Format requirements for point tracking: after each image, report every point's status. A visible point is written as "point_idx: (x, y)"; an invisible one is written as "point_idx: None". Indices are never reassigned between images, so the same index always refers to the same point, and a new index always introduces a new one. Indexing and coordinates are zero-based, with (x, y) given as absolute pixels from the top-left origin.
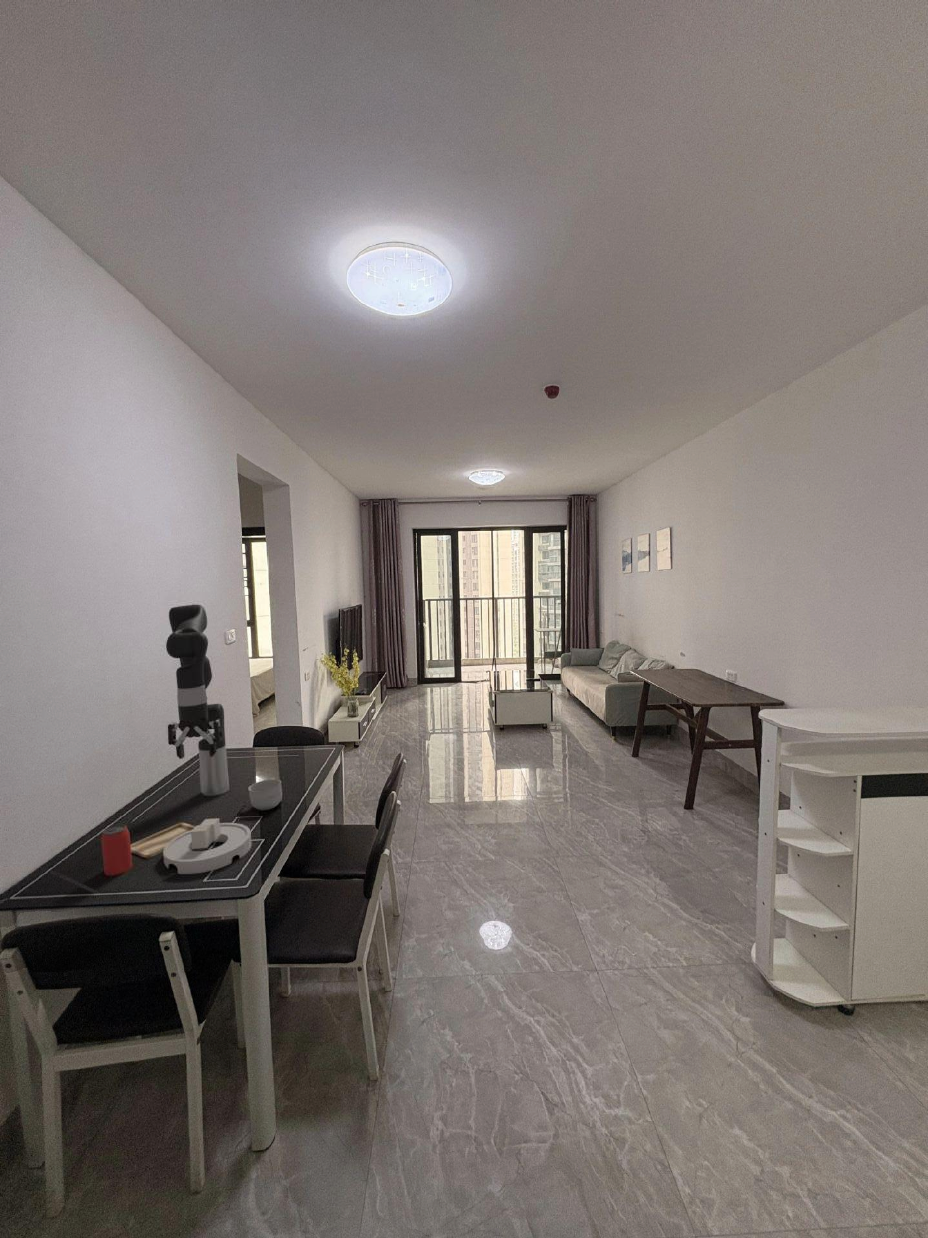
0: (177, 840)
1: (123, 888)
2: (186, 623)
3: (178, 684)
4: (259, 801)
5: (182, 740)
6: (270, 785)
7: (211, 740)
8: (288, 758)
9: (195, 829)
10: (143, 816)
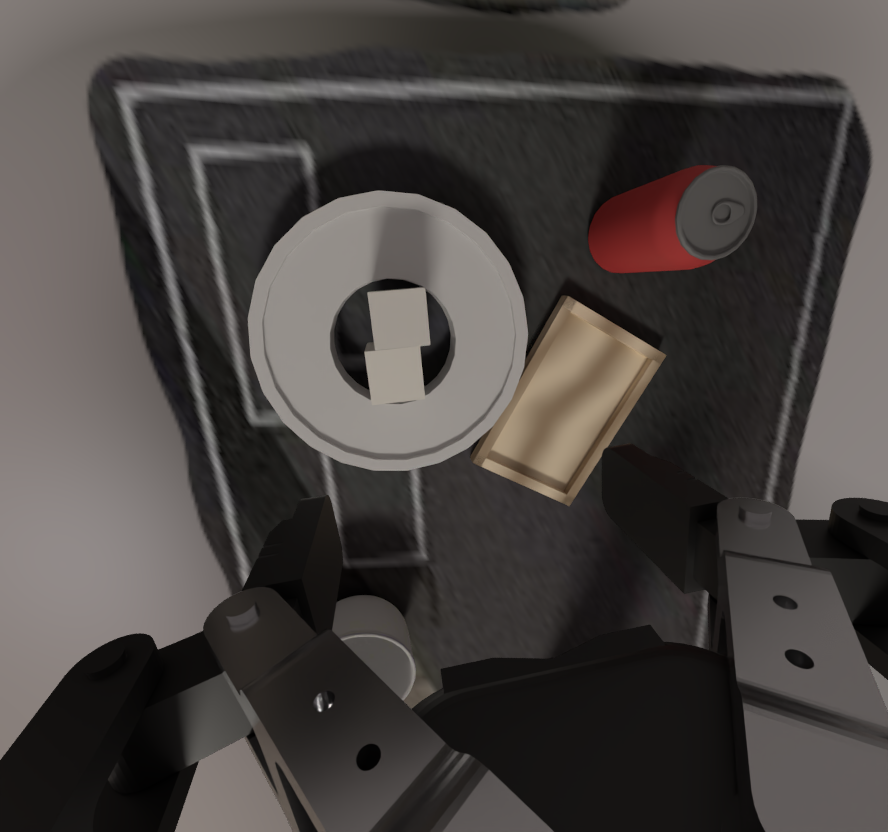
0: (509, 360)
1: (552, 121)
2: None
3: None
4: (358, 609)
5: (722, 566)
6: None
7: (226, 637)
8: None
9: (417, 308)
10: None
